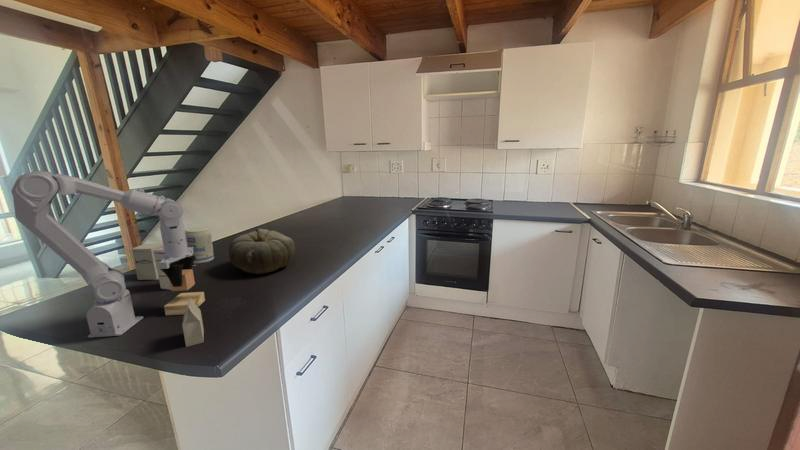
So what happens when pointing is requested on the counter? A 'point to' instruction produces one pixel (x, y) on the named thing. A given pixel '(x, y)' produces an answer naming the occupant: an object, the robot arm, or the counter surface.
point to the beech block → (183, 302)
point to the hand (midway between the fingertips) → (182, 282)
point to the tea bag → (193, 325)
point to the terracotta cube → (185, 281)
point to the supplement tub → (200, 244)
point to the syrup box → (162, 276)
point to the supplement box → (146, 261)
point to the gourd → (261, 251)
